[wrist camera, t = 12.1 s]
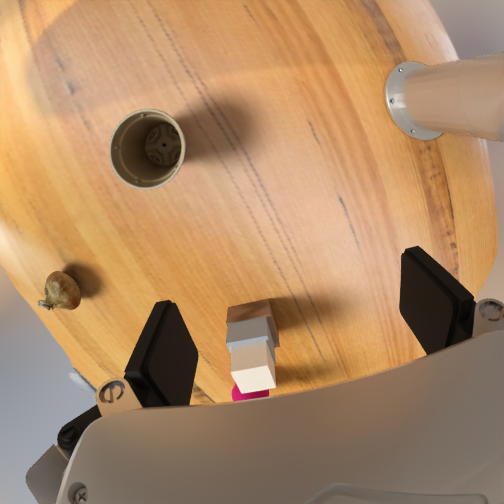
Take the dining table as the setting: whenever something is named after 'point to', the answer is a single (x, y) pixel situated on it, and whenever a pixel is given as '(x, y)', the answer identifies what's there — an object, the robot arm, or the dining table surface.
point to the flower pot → (146, 149)
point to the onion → (61, 292)
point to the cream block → (253, 367)
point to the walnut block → (255, 315)
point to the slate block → (250, 334)
